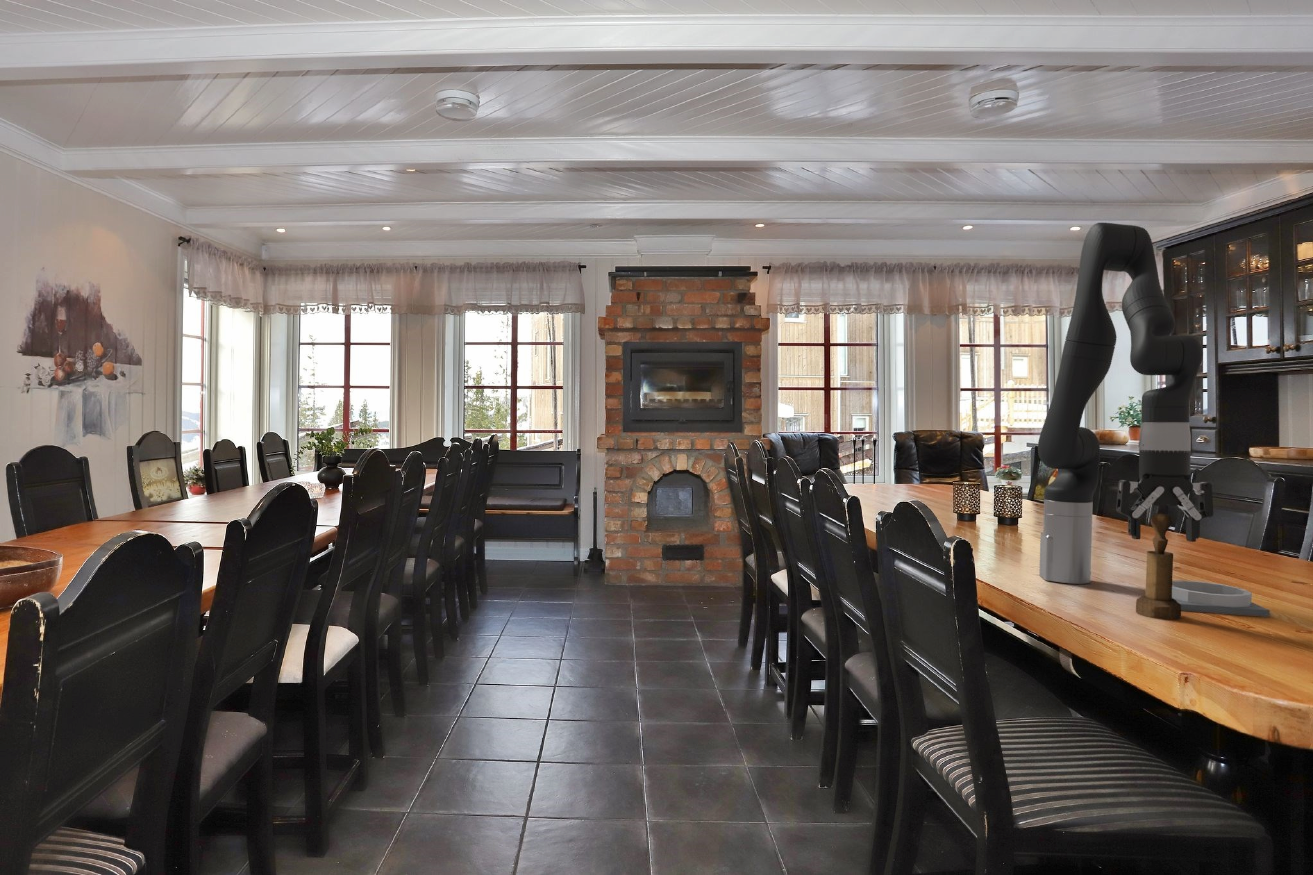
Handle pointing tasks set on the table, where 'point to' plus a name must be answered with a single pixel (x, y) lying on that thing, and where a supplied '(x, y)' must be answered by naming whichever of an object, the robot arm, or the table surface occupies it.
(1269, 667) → the table surface
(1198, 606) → the ring board
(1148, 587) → the brown tall stepped piece
